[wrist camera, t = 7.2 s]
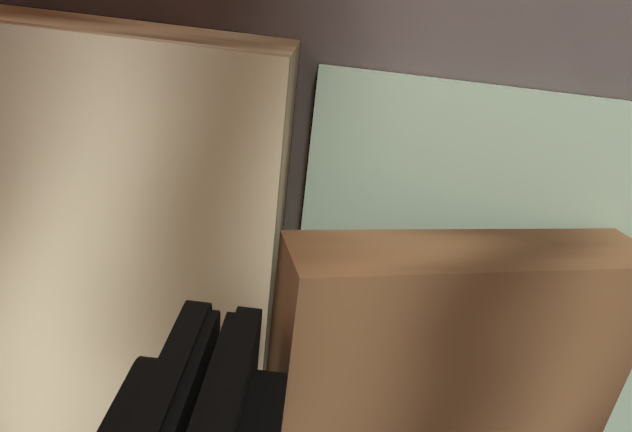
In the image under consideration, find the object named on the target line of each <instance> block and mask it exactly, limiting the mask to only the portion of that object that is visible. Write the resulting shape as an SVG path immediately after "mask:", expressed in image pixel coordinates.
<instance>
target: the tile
mask: <svg viewBox="0 0 632 432" xmlns="http://www.w3.org/2000/svg"><path fill="white" fill-rule="evenodd" d="M631 369H632V238H630V237H628V236H627V235H625V234H623V233H622V232H620V231H618V230H617V229H615V228H588V229H383V230H280V238H279V249H278V259H277V269H276V280H275V290H274V300H273V310H272V321H271V331H270V341H269V352H268V362H267V371H273V372H282V373H288V380H287V388H286V397H285V406H284V414H283V422H282V430H281V432H603V431H604V428H605V426H606V424H607V422H608V420H609V417H610V415H611V413H612V411H613V409H614V407H615V404H616V402H617V400H618V398H619V396H620V393H621V391H622V389H623V387H624V385H625V383H626V380H627V378H628V376H629V374H630V372H631Z"/></svg>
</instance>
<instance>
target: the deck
mask: <svg viewBox="0 0 632 432" xmlns="http://www.w3.org/2000/svg"><path fill="white" fill-rule="evenodd" d="M300 44H301V40H297V39H289V38H280V37H272V36H264V35H255V34H247V33H239V32H230V31H222V30H214V29H205V28H197V27H189V26H180V25H172V24H164V23H155V22H147V21H139V20H130V19H122V18H114V17H105V16H97V15H89V14H81V13H72V12H64V11H56V10H47V9H39V8H31V7H22V6H14V5H6V4H0V432H97V430H98V428H99V426H100V424H101V422H102V420H103V419H104V417H105V415H106V413H107V411H108V409H109V407H110V406H111V404H112V402H113V400H114V398H115V396H116V394H117V393H118V391H119V389H120V387H121V385H122V383H123V381H124V380H125V378H126V376H127V374H128V372H129V370H130V368H131V366H132V365H133V363H134V361H135V360H136V358H137V357H139V356H145V357H154V358H158V357H159V355H160V352H161V350H162V348H163V346H164V344H165V342H166V340H167V338H168V336H169V334H170V332H171V330H172V327H173V325H174V323H175V321H176V319H177V317H178V315H179V313H180V311H181V309H182V307H183V305H184V303H185V301H186V300H192V301H200V302H209V303H212V310H220V313H221V317H220V330H221V327H222V324H223V321H224V319H225V316H226V313H227V311H228V312H236V309H237V307H238V306H242V307H251V308H259V309H262V324H261V335H260V347H259V359H258V370H265V371H267V362H268V352H269V341H270V331H271V321H272V310H273V300H274V290H275V280H276V269H277V259H278V249H279V238H280V230H283V225H284V214H285V204H286V193H287V182H288V172H289V161H290V151H291V140H292V129H293V119H294V108H295V98H296V87H297V76H298V66H299V55H300Z"/></svg>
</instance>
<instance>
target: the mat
mask: <svg viewBox="0 0 632 432" xmlns="http://www.w3.org/2000/svg"><path fill="white" fill-rule="evenodd" d="M588 228H615V229H617V230H618V231H620V232H622V233H623V234H625V235H627V236H628V237H630V238H632V101H627V100H618V99H610V98H602V97H593V96H585V95H577V94H568V93H560V92H552V91H543V90H535V89H527V88H518V87H510V86H502V85H493V84H485V83H476V82H468V81H460V80H451V79H443V78H435V77H426V76H418V75H410V74H401V73H393V72H385V71H376V70H368V69H359V68H351V67H343V66H334V65H326V64H319V67H318V76H317V86H316V95H315V104H314V113H313V122H312V131H311V140H310V150H309V159H308V168H307V177H306V186H305V195H304V204H303V213H302V223H301V230H383V229H588ZM603 432H632V369H631V372H630V374H629V376H628V378H627V380H626V383H625V385H624V387H623V389H622V391H621V393H620V396H619V398H618V400H617V402H616V404H615V407H614V409H613V411H612V413H611V415H610V417H609V420H608V422H607V424H606V426H605V428H604V431H603Z"/></svg>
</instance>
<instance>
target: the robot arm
mask: <svg viewBox="0 0 632 432" xmlns="http://www.w3.org/2000/svg"><path fill="white" fill-rule="evenodd" d="M220 317H221V313H220V310H212V303H209V302H200V301H192V300H186V301H185V303H184V305H183V307H182V309H181V311H180V313H179V315H178V317H177V319H176V321H175V323H174V325H173V327H172V330H171V332H170V334H169V336H168V338H167V340H166V342H165V344H164V346H163V348H162V350H161V352H160V355H159V357H158V358H154V357H145V356H139V357H137V358H136V360H135V361H134V363H133V365H132V366H131V368H130V370H129V372H128V374H127V376H126V378H125V380H124V381H123V383H122V385H121V387H120V389H119V391H118V393H117V394H116V396H115V398H114V400H113V402H112V404H111V406H110V407H109V409H108V411H107V413H106V415H105V417H104V419H103V420H102V422H101V424H100V426H99V428H98V430H97V432H281V430H282V422H283V414H284V406H285V397H286V388H287V380H288V373H282V372H273V371H265V370H258V359H259V347H260V335H261V324H262V309H259V308H251V307H242V306H238V307H237V309H236V312H228V311H227V313H226V316H225V319H224V321H223V324H222V327H221V330H220Z"/></svg>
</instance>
